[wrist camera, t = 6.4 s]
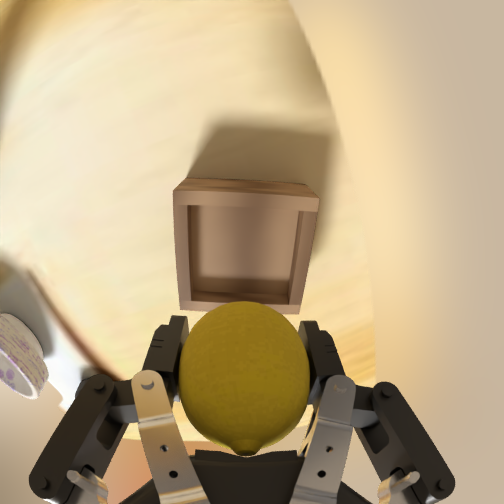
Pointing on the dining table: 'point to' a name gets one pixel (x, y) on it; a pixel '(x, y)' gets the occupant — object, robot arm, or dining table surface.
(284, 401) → the lemon
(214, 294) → the open wooden tray
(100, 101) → the dining table surface
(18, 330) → the paper bowls
